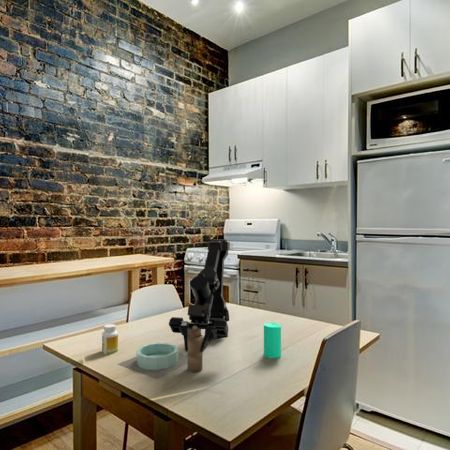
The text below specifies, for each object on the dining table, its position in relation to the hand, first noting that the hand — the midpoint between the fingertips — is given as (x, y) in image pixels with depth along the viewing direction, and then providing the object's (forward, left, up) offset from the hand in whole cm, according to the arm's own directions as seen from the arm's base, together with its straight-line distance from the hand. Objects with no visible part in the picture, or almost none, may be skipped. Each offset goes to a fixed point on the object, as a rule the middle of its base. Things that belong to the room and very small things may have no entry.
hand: (193, 351), depth 107 cm
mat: (+8, -12, -7) cm, 16 cm away
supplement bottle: (+21, -28, -7) cm, 36 cm away
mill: (-1, -1, -7) cm, 7 cm away
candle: (-30, -2, -7) cm, 31 cm away
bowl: (+8, -12, -6) cm, 16 cm away
